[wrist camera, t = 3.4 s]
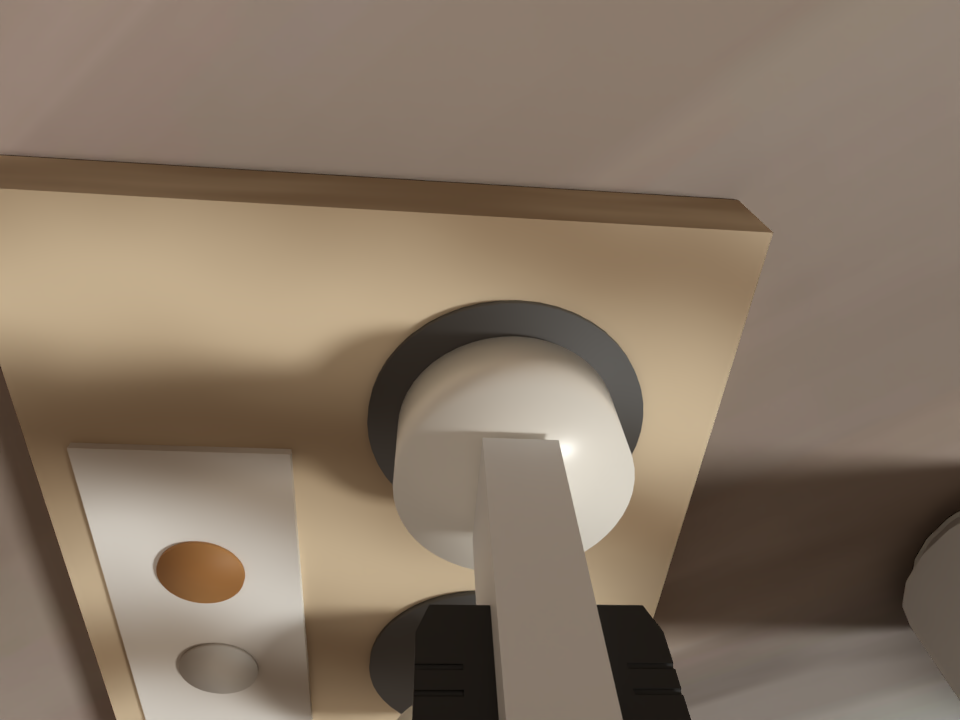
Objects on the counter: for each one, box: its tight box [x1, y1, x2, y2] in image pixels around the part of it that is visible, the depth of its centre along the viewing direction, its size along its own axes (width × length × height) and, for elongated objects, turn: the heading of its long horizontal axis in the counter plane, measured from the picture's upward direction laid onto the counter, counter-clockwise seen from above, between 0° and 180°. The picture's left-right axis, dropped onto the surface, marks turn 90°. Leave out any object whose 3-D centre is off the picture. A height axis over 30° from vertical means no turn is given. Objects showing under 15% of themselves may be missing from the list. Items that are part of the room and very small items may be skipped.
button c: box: [393, 336, 635, 570], centre depth 15 cm, size 5×5×2 cm
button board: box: [0, 155, 773, 720], centre depth 22 cm, size 28×16×2 cm, turn 176°
